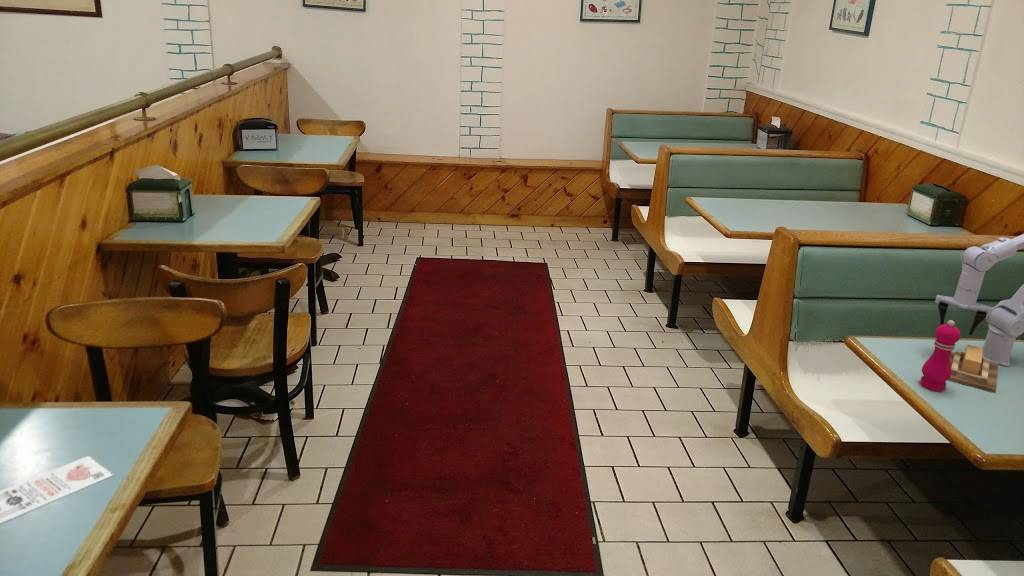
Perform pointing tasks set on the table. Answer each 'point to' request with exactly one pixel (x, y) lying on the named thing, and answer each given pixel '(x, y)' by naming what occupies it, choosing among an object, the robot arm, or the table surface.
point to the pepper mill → (940, 358)
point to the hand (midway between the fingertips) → (955, 330)
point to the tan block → (972, 359)
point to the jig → (982, 380)
